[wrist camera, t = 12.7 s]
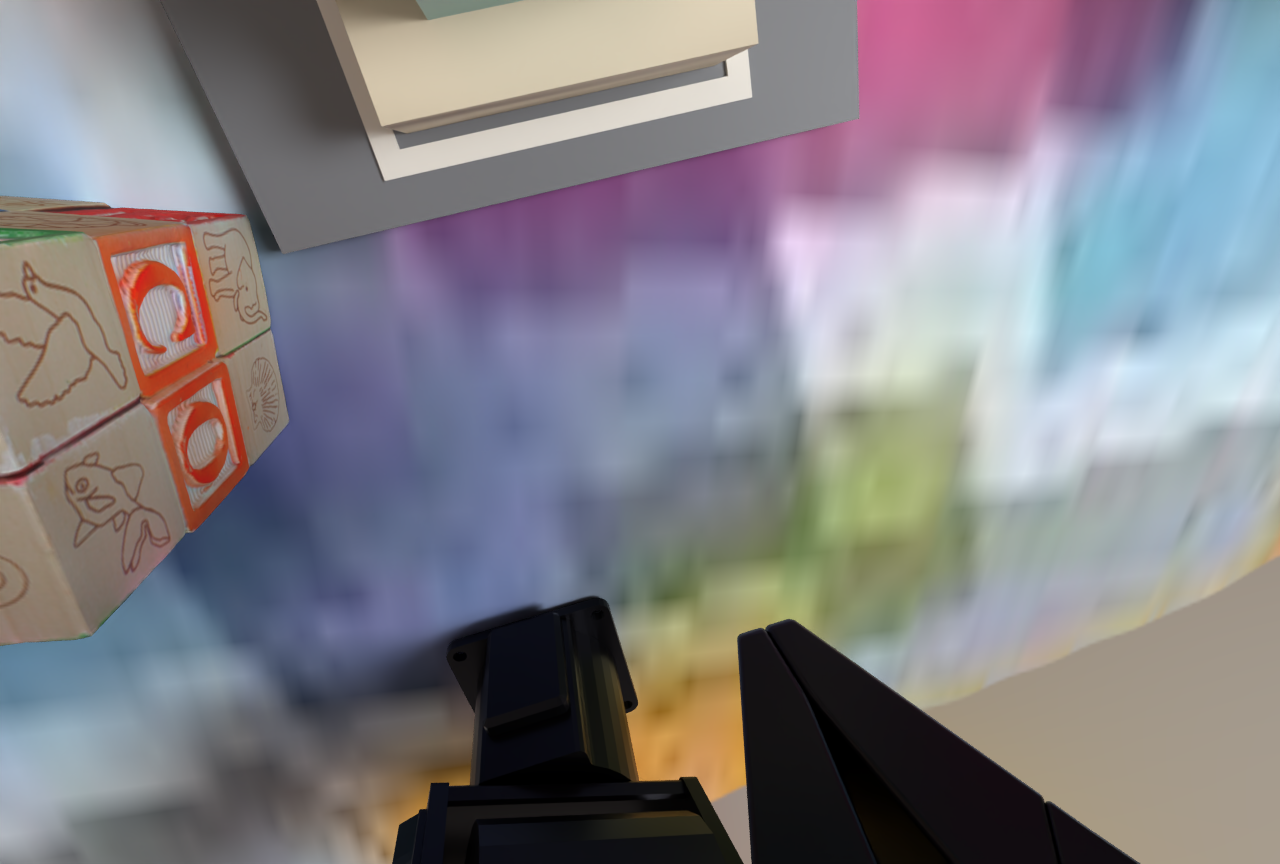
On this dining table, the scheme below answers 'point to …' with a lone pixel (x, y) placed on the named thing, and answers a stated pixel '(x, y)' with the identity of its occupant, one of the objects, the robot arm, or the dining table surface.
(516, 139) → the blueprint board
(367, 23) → the maple slab
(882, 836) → the robot arm
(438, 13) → the teal cube
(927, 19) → the dining table surface
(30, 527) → the stack of blocks
